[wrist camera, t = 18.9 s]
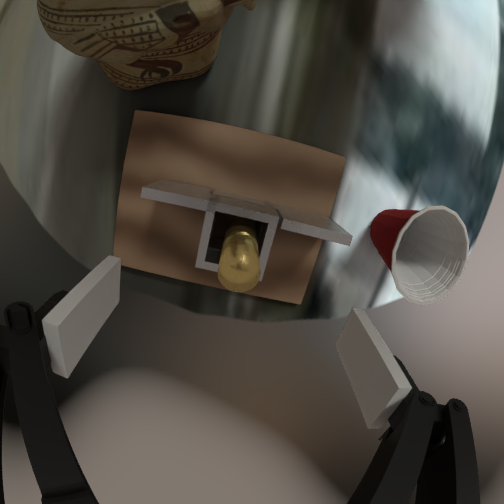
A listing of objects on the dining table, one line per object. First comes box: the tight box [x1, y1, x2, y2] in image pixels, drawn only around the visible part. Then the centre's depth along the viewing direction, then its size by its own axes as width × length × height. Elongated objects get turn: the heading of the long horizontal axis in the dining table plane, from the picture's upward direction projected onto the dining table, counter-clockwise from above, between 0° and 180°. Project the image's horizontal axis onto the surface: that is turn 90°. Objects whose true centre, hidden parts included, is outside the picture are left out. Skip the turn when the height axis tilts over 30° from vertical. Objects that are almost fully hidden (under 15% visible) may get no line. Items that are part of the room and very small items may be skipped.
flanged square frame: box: [141, 179, 279, 281], centre depth 31 cm, size 7×13×8 cm, turn 76°
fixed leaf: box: [209, 190, 353, 251], centre depth 31 cm, size 7×14×8 cm, turn 76°
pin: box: [218, 215, 261, 292], centre depth 28 cm, size 3×3×14 cm
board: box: [113, 110, 346, 304], centre depth 35 cm, size 20×26×1 cm
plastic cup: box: [370, 206, 469, 305], centre depth 31 cm, size 11×11×12 cm
